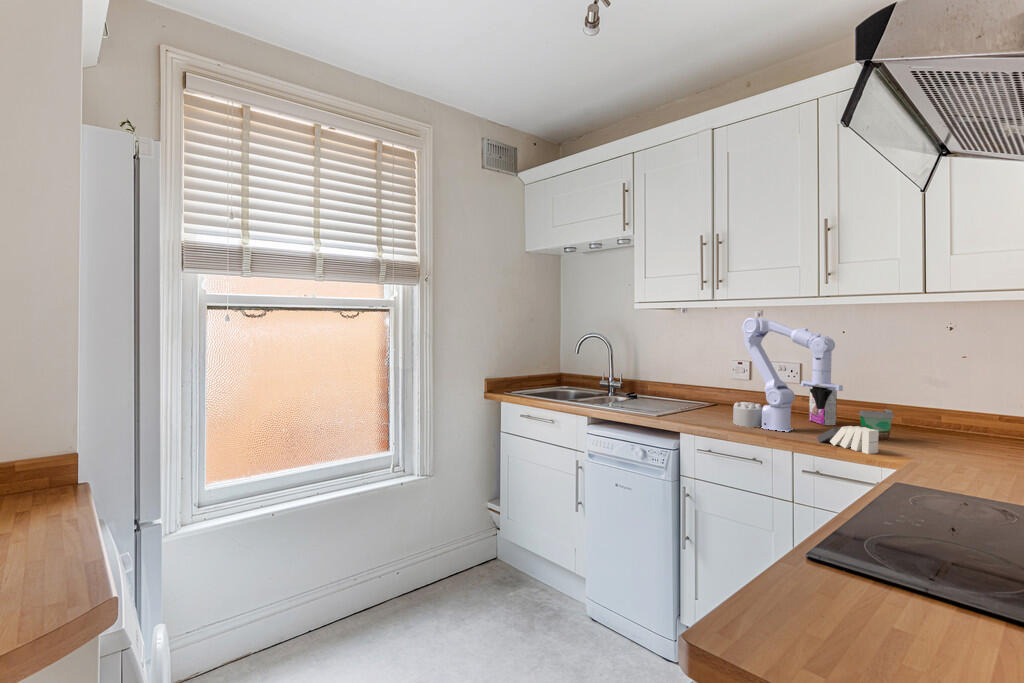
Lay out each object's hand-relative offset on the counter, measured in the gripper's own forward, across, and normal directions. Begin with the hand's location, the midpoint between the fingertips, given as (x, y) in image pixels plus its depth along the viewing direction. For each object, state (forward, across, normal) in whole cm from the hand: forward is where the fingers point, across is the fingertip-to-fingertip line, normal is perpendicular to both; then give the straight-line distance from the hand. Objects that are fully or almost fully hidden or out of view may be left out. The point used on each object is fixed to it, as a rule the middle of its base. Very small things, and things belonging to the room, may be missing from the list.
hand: (820, 408), depth 180 cm
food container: (+10, +10, +17) cm, 22 cm away
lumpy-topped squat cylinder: (+10, -26, -7) cm, 29 cm away
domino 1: (+9, +11, -6) cm, 16 cm away
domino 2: (+10, +14, -6) cm, 18 cm away
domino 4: (+10, +22, -6) cm, 25 cm away
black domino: (+9, +6, -6) cm, 13 cm away
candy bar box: (+10, -18, +25) cm, 32 cm away
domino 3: (+10, +18, -6) cm, 22 cm away
